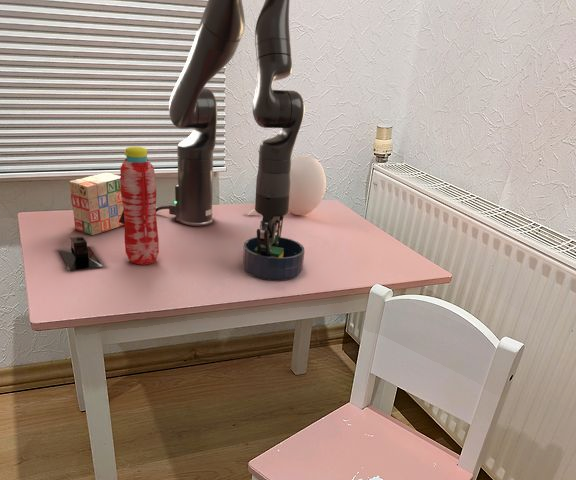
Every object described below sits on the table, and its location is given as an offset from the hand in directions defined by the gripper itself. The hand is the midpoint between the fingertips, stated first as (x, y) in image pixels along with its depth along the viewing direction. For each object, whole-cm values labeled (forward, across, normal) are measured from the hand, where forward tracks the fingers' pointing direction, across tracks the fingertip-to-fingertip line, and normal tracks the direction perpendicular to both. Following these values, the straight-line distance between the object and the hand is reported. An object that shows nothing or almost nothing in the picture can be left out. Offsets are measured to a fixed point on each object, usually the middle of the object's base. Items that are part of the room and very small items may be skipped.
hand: (267, 263), depth 136 cm
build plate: (+1, +14, -40) cm, 43 cm away
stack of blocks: (+1, -11, -46) cm, 47 cm away
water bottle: (+1, +8, -29) cm, 30 cm away
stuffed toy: (+1, -42, -6) cm, 42 cm away
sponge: (0, 0, 0) cm, 0 cm away
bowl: (+1, 0, +1) cm, 2 cm away
